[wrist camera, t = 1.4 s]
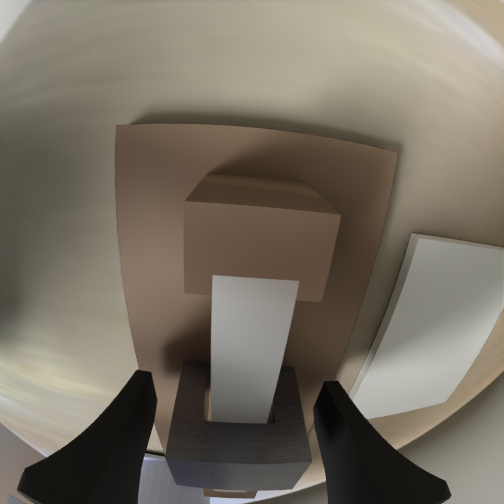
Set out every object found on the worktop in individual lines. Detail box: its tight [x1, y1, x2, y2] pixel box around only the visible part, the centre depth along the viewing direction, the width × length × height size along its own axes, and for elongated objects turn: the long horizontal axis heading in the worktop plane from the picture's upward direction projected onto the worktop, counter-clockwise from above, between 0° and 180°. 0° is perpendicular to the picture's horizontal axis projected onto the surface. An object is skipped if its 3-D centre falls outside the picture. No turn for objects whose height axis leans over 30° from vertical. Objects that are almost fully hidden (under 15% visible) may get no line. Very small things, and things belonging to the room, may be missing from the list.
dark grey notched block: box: [165, 360, 312, 491], centre depth 9 cm, size 3×4×4 cm
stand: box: [115, 124, 398, 498], centre depth 11 cm, size 20×9×4 cm, turn 175°
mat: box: [348, 233, 504, 419], centre depth 13 cm, size 12×9×1 cm
